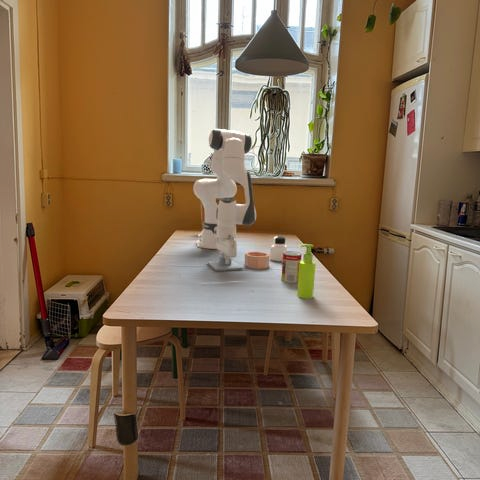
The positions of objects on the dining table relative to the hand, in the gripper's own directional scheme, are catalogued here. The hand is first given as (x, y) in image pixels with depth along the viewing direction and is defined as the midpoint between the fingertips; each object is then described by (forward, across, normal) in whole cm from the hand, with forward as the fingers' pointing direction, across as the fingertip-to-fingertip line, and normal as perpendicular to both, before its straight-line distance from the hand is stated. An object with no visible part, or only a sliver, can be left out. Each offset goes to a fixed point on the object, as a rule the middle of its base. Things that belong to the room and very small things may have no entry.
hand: (225, 262), depth 189 cm
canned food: (+3, -25, -21) cm, 33 cm away
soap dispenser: (+3, -45, -16) cm, 48 cm away
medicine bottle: (+3, +11, -33) cm, 35 cm away
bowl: (+3, 0, -16) cm, 16 cm away
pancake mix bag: (+3, +84, -21) cm, 86 cm away
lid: (+2, 0, 0) cm, 2 cm away
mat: (+3, 0, 0) cm, 3 cm away
